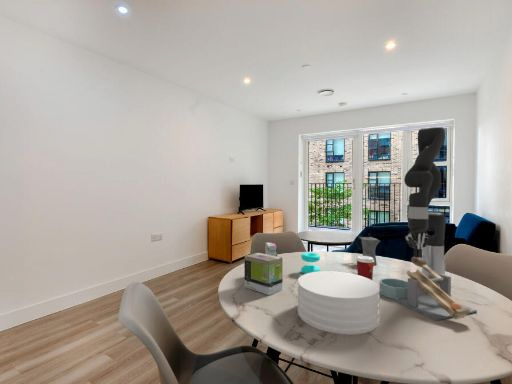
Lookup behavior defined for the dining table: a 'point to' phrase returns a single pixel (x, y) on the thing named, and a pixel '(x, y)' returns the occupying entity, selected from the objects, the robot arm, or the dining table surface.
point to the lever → (435, 288)
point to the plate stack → (338, 302)
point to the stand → (428, 300)
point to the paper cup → (365, 266)
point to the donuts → (310, 258)
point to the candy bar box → (270, 249)
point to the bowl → (393, 288)
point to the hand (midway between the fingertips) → (417, 257)
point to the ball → (455, 306)
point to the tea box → (263, 273)
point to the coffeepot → (368, 246)
